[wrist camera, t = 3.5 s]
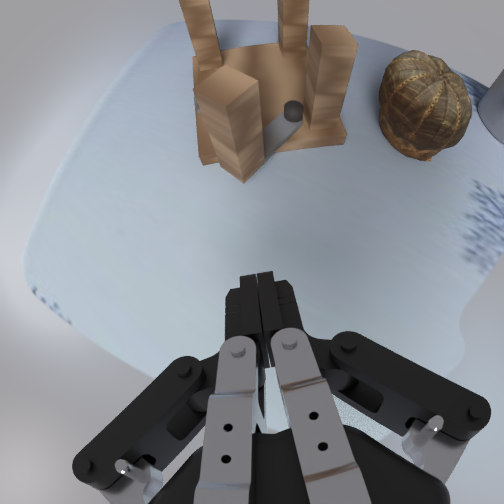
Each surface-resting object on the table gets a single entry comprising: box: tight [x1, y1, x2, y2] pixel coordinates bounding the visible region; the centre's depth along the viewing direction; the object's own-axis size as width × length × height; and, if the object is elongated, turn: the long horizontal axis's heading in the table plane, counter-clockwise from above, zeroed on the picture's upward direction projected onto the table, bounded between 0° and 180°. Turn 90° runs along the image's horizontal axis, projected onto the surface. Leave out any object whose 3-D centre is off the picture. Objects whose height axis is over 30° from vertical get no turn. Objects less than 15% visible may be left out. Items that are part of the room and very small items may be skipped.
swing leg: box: [193, 65, 304, 184], centre depth 22 cm, size 10×3×12 cm, turn 139°
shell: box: [379, 50, 472, 161], centre depth 24 cm, size 11×11×12 cm
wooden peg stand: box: [179, 0, 358, 165], centre depth 25 cm, size 16×18×14 cm
